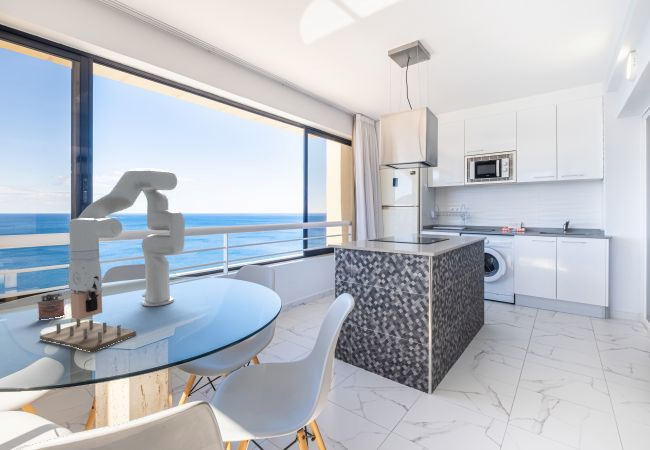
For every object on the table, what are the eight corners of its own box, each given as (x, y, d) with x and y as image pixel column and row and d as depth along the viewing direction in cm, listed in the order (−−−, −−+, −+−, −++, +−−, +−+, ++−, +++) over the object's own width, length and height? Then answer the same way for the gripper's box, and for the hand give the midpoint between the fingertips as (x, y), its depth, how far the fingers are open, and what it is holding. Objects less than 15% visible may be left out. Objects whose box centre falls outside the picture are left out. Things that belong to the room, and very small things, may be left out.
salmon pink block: (71, 317, 99) (70, 293, 99) (94, 311, 106) (93, 288, 105) (79, 319, 98) (78, 294, 97) (102, 312, 104) (101, 289, 104)
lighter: (37, 321, 118) (35, 296, 117) (40, 318, 121) (38, 293, 120) (63, 318, 121) (62, 293, 121) (66, 315, 124) (65, 291, 124)
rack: (40, 340, 100) (39, 326, 100) (86, 325, 114) (85, 313, 113) (91, 353, 91) (91, 338, 91) (135, 335, 104) (135, 322, 104)
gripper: (56, 256, 101) (58, 310, 101) (89, 258, 94) (91, 316, 95) (81, 253, 108) (83, 304, 108) (113, 255, 101) (115, 309, 102)
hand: (87, 309), depth 102 cm, fingers closed on salmon pink block, 4 cm apart
